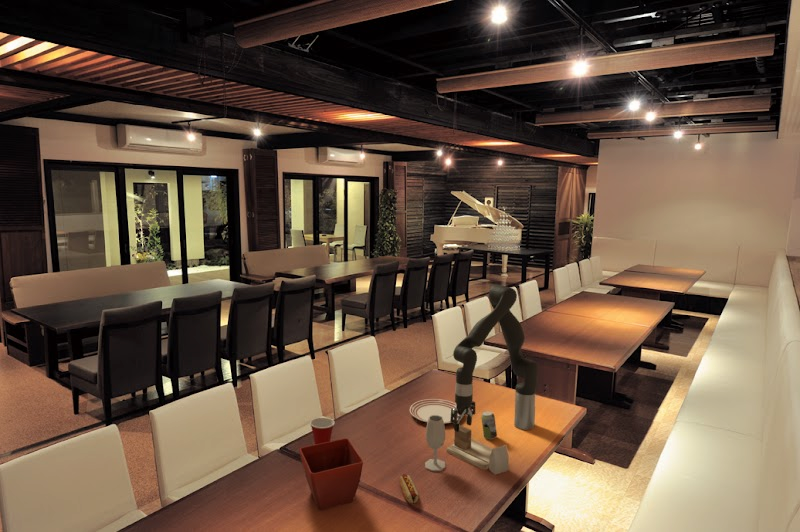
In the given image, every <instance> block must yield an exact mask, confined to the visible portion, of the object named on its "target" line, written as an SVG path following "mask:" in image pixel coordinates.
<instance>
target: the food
mask: <svg viewBox="0 0 800 532" xmlns="http://www.w3.org/2000/svg"><path fill="white" fill-rule="evenodd" d="M398 482H399V488H400V490H401V492H402V494H403V498H404V499H405V500H406V501H407V502H408V503H410V504H415V503H417V502H418V501H419V498H420V497H419V496H420V494H419V492H418V490H417V487H416V485H415V483H414V481H413V480H412V478H411V476H410V475H408V474H406V473H403V474H402V475H401V476H399V481H398Z"/></svg>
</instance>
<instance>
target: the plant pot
mask: <svg viewBox="0 0 800 532" xmlns="http://www.w3.org/2000/svg"><path fill="white" fill-rule="evenodd" d="M299 454H300V460H301V463H302V468H303V472H304V474H305V475H304V476H305V478H306V481H307V485H308V487H309V489H310V492H311V495H312V497H313V499H314V502H315V504H316V506H317V509H318V510H320V511H323V510H327V509H330V508H331V509H332V508H334V507H338V506H341V505H345V504H349V503H352V502H353V501H354V499H355V496H356V494H357V491H358V488H359V485H360V480H361V476H362V473H363V472H362V471H363V465H364V460H363V459H362V457H361V456H360V454H359V453H358V451H357V450H356V448H355V447H354V445H353V444H352V442H351V440H350V439H349V438H345V437H344V438H340V439H336V440H330V442H325V443H320V444H316V445H315V444H312V445H307V446H301V447H300V448H299Z"/></svg>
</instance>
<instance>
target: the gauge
mask: <svg viewBox="0 0 800 532" xmlns="http://www.w3.org/2000/svg"><path fill="white" fill-rule="evenodd" d="M471 439H472V429H470V428H468V427H466V426H463V425H460V424H459V432H456V431H455V430H454V439H453V442H454V443H453V444H454V446H457V447H459V448H461V449H463V450H467V449H469V448H471Z"/></svg>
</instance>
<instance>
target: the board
mask: <svg viewBox="0 0 800 532" xmlns="http://www.w3.org/2000/svg"><path fill="white" fill-rule="evenodd" d="M492 449H494V448H493V447H490V446H489V445H486V444H483V443H481V442H479V441H477V440H474V439H472V438H471V448H469V449H467V450H463V449H461V448H459V447H457V446H454V443H453V444H451V445H449V446H447V447H446V453H447V452H448V453H447V454H449V453H450V454H449V455H451V454H452V456H453V455H454V457H455V456H456V458H458V459H459V460H461V461H464V462H466V463H468V464H470V465H472V466H474V467H476V468H478V469H481V470H483V471H487V470H489V458H490V454H491V452H492Z"/></svg>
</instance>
